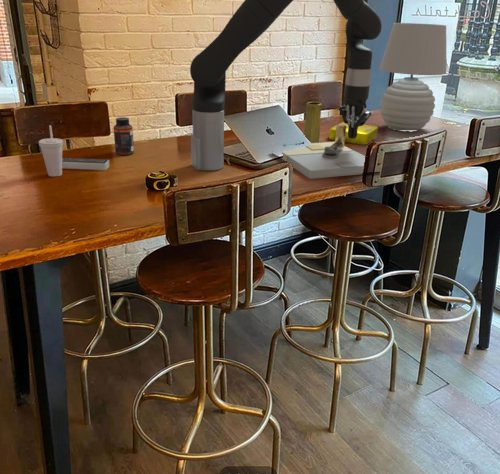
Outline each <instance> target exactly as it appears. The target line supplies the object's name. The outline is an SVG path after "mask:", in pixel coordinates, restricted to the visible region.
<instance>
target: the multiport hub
mask: <svg viewBox="0 0 500 474" xmlns="http://www.w3.org/2000/svg"><path fill="white" fill-rule="evenodd" d="M109 167H110V159H102V158H101V159H98V158H97V159H96V158H79V157H78V158H77V157H75V158H73V157H62V169H70V170H71V169H72V170H73V169H74V170H89V171H90V170H93V171H106V170H107V169H108V168H109Z"/></svg>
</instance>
